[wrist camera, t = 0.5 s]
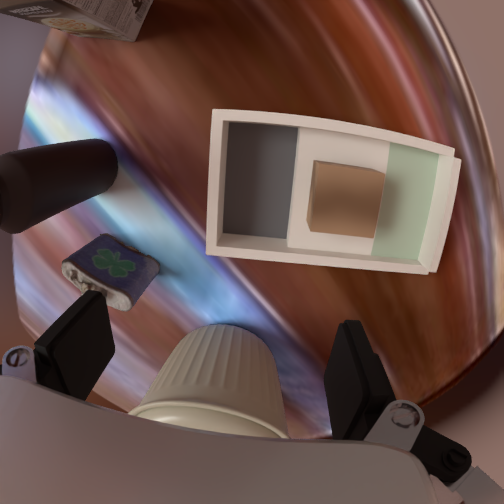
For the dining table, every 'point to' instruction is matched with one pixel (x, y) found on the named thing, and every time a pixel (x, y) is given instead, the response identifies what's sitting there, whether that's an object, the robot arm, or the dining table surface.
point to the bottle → (52, 180)
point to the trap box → (298, 189)
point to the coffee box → (84, 16)
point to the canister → (218, 385)
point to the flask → (111, 271)
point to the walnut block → (344, 199)
